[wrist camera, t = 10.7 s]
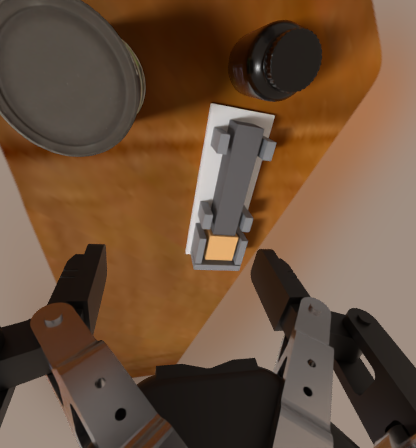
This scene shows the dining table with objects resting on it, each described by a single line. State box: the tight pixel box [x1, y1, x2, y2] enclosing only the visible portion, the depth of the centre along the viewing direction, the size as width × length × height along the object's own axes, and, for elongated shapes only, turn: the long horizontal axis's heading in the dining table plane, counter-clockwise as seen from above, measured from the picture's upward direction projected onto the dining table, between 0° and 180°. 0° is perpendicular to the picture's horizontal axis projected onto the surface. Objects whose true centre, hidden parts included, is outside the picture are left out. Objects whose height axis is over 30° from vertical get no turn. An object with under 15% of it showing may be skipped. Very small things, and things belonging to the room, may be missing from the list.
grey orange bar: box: [204, 120, 264, 261], centre depth 37 cm, size 20×4×4 cm, turn 169°
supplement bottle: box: [228, 20, 322, 102], centre depth 27 cm, size 7×7×12 cm
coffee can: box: [0, 0, 145, 157], centre depth 24 cm, size 10×10×14 cm
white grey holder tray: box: [186, 103, 276, 271], centre depth 37 cm, size 24×9×6 cm, turn 169°
